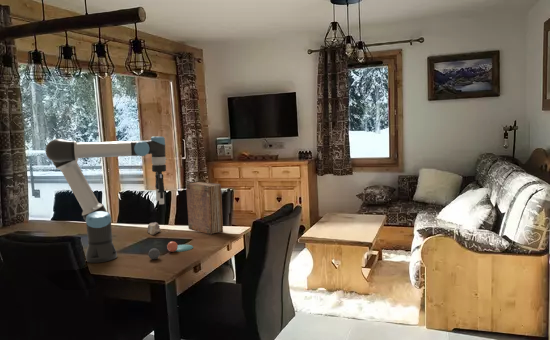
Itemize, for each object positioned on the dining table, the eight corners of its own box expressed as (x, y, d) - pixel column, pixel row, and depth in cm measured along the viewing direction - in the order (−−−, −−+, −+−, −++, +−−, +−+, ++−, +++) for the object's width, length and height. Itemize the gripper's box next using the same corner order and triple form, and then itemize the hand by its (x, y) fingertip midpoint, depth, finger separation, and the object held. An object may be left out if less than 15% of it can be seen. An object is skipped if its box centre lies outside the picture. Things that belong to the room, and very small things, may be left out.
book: (223, 232, 277) (221, 184, 274) (210, 235, 271) (208, 185, 268) (200, 226, 296) (198, 181, 292) (188, 228, 289) (185, 182, 286)
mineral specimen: (163, 234, 278) (162, 224, 277) (151, 235, 274) (150, 225, 274) (157, 230, 289) (156, 220, 288) (146, 231, 285) (145, 222, 285)
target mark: (183, 252, 235) (183, 252, 235) (163, 250, 241) (163, 249, 241) (198, 246, 247) (198, 245, 247) (179, 244, 253) (179, 243, 253)
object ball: (170, 253, 234) (170, 243, 233) (165, 251, 238) (164, 241, 237) (180, 251, 238) (179, 241, 237) (174, 249, 242) (174, 239, 241)
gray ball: (152, 261, 221) (151, 250, 221) (146, 259, 225) (146, 248, 225) (162, 259, 225) (161, 248, 225) (156, 256, 229) (156, 246, 229)
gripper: (168, 165, 238) (170, 205, 240) (163, 162, 262) (164, 198, 264) (154, 166, 236) (155, 206, 238) (149, 163, 259) (151, 199, 261)
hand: (160, 202), depth 251 cm, fingers open, 13 cm apart
